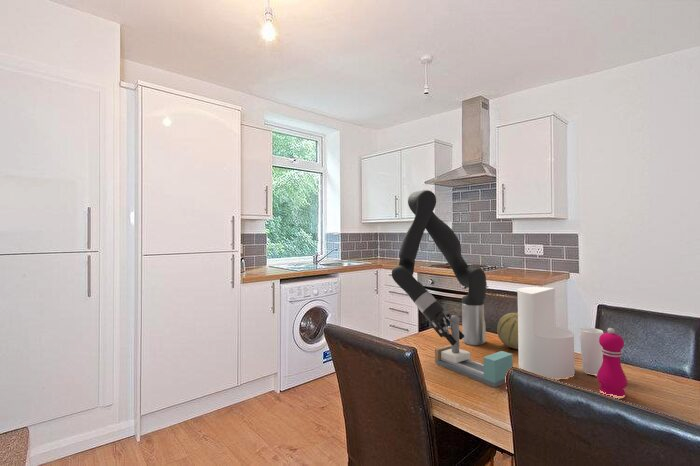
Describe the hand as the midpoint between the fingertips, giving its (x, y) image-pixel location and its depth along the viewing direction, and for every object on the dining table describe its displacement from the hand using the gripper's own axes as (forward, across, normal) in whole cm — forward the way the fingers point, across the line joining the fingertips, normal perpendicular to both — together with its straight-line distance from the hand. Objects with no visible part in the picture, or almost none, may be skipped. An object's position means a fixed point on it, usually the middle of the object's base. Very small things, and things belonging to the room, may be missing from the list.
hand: (458, 340), depth 128 cm
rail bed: (+10, -2, +3) cm, 11 cm away
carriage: (+4, 0, +6) cm, 7 cm away
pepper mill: (+38, +3, -25) cm, 46 cm away
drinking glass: (+35, +18, -22) cm, 45 cm away
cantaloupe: (+16, +32, -3) cm, 36 cm away
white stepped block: (+25, +13, -12) cm, 31 cm away
